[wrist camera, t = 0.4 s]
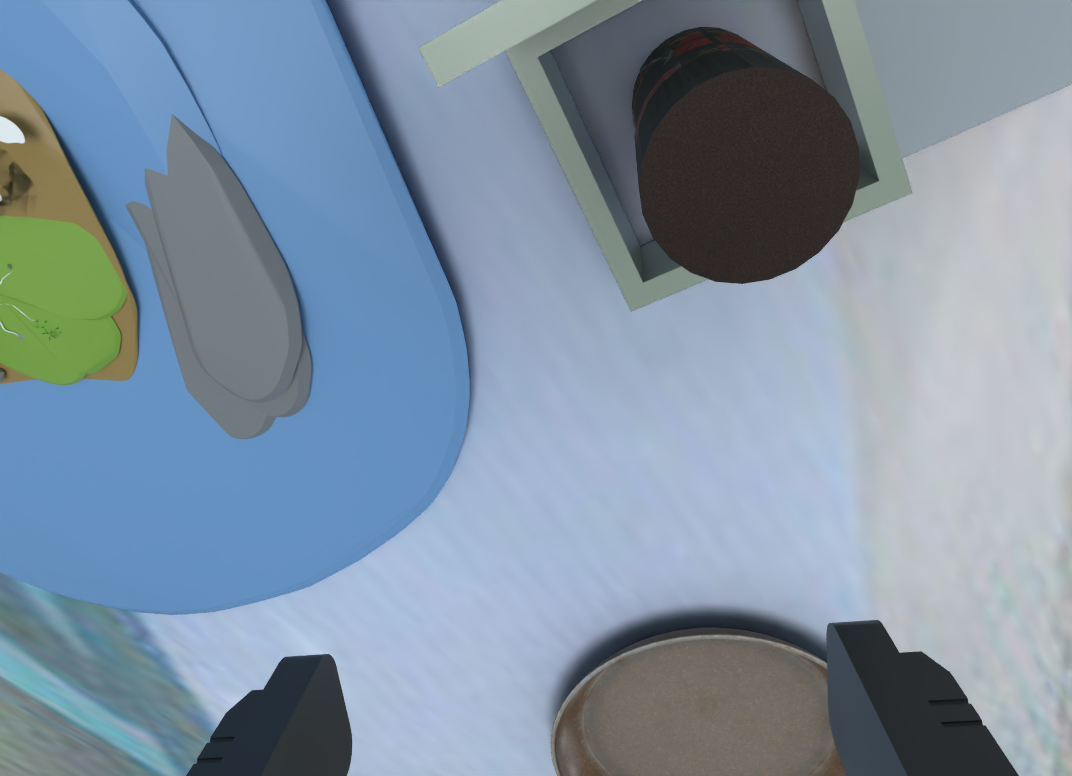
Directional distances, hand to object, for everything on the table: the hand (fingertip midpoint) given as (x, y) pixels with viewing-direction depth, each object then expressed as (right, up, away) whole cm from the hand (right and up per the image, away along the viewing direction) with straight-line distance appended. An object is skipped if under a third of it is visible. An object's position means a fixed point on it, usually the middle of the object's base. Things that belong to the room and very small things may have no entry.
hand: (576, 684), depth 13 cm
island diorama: (-26, +10, +30) cm, 41 cm away
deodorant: (+7, +18, +22) cm, 29 cm away
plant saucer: (+11, -17, +41) cm, 46 cm away
